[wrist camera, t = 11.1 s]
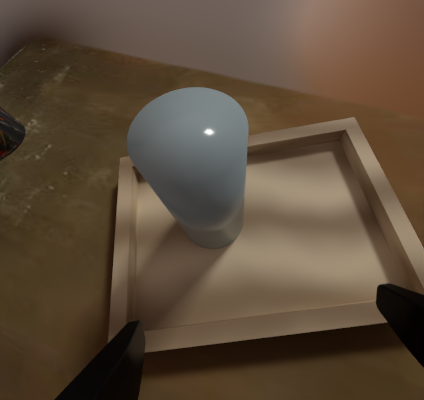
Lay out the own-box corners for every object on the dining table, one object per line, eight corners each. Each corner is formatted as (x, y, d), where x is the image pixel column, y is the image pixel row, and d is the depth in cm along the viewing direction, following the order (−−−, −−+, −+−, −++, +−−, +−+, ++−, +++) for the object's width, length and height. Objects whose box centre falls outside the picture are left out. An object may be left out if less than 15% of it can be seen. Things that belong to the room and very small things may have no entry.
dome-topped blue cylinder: (234, 256, 18) (229, 198, 8) (175, 239, 19) (105, 169, 9) (249, 199, 20) (260, 94, 10) (194, 187, 21) (154, 81, 11)
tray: (426, 312, 16) (458, 313, 14) (124, 350, 17) (106, 357, 15) (343, 135, 23) (354, 117, 20) (131, 171, 24) (120, 157, 22)
